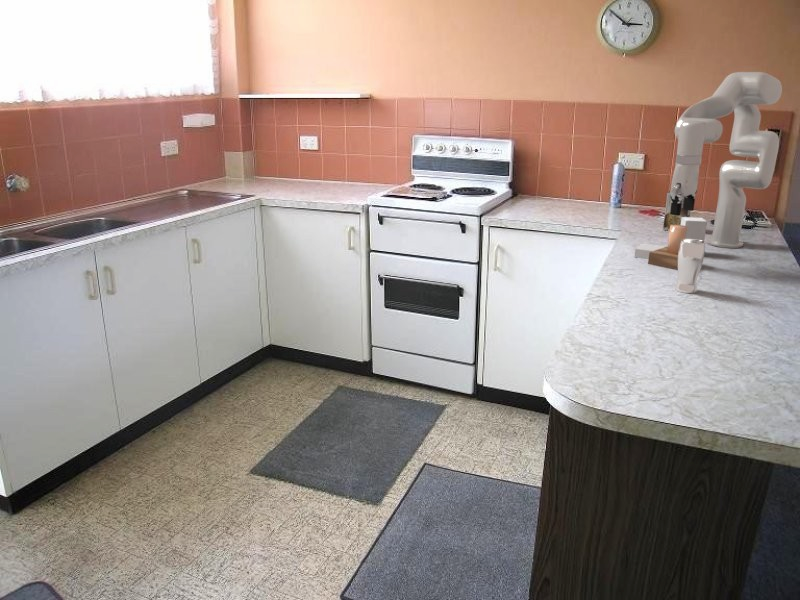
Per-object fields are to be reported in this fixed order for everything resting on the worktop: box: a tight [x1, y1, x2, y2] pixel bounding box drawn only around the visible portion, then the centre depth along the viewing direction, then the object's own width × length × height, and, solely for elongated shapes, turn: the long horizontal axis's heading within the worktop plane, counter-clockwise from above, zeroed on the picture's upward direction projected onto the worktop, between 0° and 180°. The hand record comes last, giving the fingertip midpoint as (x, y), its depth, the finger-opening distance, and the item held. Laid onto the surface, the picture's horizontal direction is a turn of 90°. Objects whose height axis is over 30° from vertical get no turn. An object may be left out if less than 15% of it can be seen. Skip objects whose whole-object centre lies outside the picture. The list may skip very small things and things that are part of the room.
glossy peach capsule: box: [667, 225, 687, 255], centre depth 223 cm, size 5×5×9 cm
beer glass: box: [674, 238, 706, 294], centre depth 195 cm, size 7×7×15 cm
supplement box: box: [681, 216, 708, 241], centre depth 238 cm, size 7×7×13 cm
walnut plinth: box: [647, 246, 678, 271], centre depth 225 cm, size 12×12×4 cm
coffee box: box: [662, 190, 691, 232], centre depth 274 cm, size 9×6×16 cm
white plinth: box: [634, 243, 668, 260], centre depth 235 cm, size 10×10×3 cm
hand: (681, 212), depth 221 cm, fingers open, 9 cm apart
